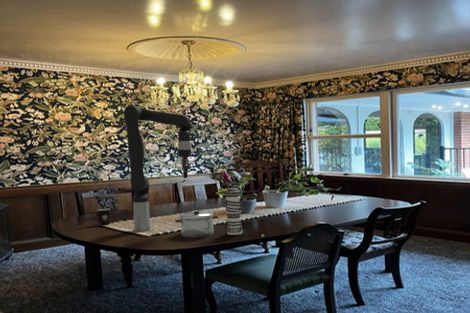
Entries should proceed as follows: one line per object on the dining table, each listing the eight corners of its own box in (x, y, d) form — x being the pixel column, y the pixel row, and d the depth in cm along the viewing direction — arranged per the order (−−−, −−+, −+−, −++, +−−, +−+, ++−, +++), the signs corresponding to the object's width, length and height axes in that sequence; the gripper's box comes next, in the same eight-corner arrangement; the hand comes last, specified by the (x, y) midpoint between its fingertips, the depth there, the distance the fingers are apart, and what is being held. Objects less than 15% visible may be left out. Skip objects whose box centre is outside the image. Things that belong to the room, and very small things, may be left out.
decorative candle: (233, 230, 249) (231, 187, 248) (246, 232, 243) (244, 187, 242) (223, 233, 242) (220, 188, 241) (236, 235, 236) (233, 189, 235)
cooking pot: (179, 239, 233) (178, 220, 232) (173, 233, 250) (172, 216, 249) (222, 234, 240) (221, 216, 240) (213, 228, 257) (212, 212, 257)
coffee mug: (113, 223, 294) (112, 208, 293) (108, 225, 285) (107, 210, 285) (97, 223, 295) (96, 208, 295) (91, 226, 286) (90, 211, 286)
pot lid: (183, 220, 233) (183, 215, 233) (176, 215, 252) (176, 210, 252) (217, 217, 239) (217, 211, 239) (208, 212, 258) (207, 207, 258)
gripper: (176, 148, 264) (177, 177, 264) (180, 149, 251) (181, 179, 252) (188, 148, 266) (189, 177, 267) (193, 148, 253) (193, 178, 254)
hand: (185, 178), depth 259 cm, fingers closed
